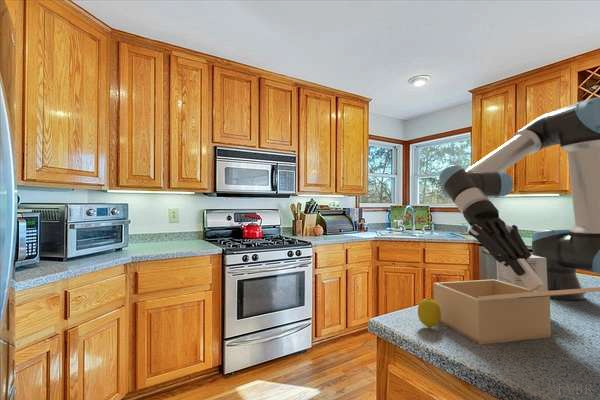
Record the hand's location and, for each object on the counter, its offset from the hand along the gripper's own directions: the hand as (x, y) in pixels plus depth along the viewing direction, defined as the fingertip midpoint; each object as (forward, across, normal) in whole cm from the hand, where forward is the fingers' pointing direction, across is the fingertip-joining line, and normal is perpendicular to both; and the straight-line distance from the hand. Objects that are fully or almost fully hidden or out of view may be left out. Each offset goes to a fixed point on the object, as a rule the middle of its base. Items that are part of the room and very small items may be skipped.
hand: (537, 287), depth 62 cm
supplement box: (-6, -21, -26) cm, 34 cm away
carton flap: (-1, -1, -7) cm, 8 cm away
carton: (0, -1, -20) cm, 20 cm away
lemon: (-1, +14, -22) cm, 26 cm away
